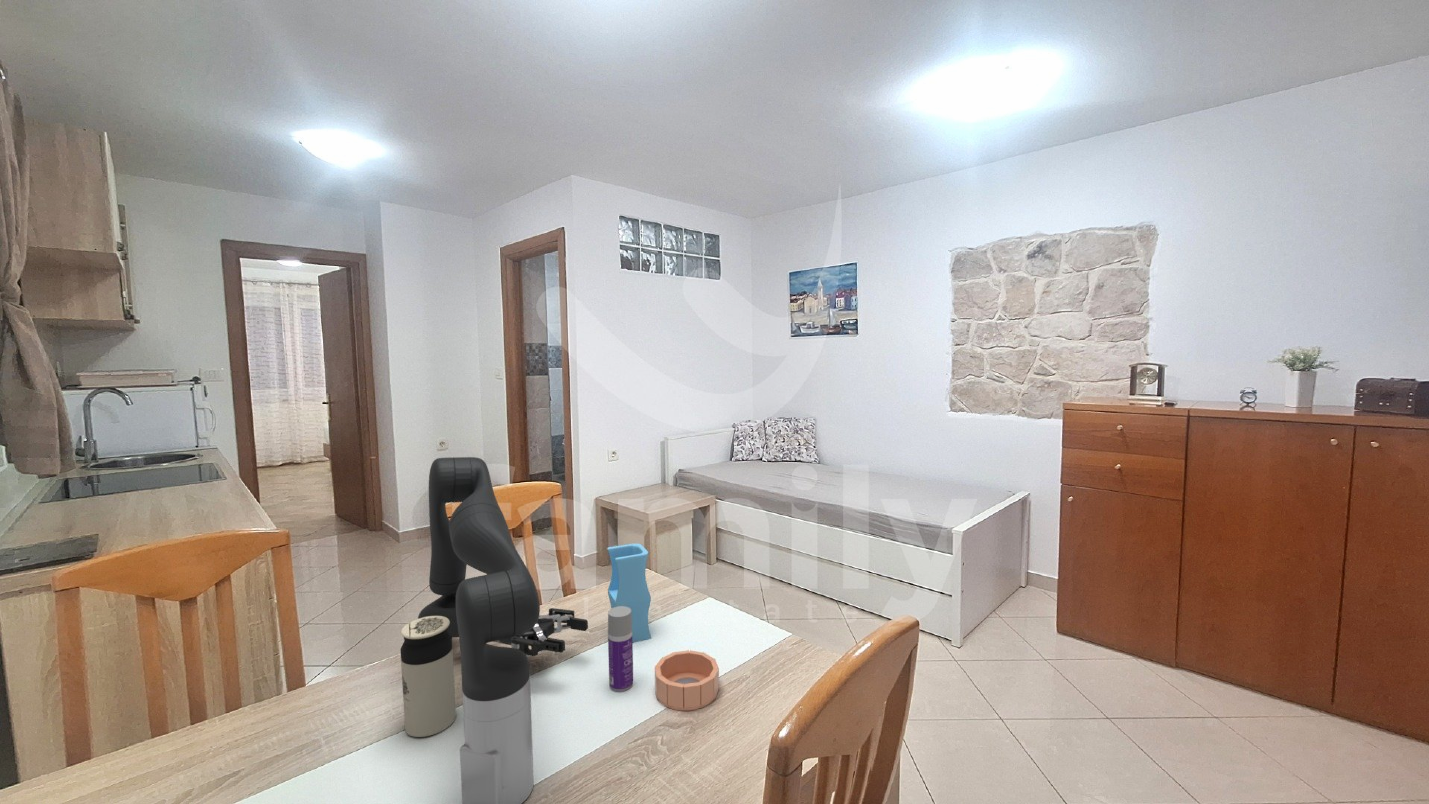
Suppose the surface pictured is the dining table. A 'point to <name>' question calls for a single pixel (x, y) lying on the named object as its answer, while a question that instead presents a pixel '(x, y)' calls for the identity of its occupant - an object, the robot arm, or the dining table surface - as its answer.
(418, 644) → the travel mug
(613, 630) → the container
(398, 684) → the dining table surface
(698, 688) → the faceted terracotta pot
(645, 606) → the vase
